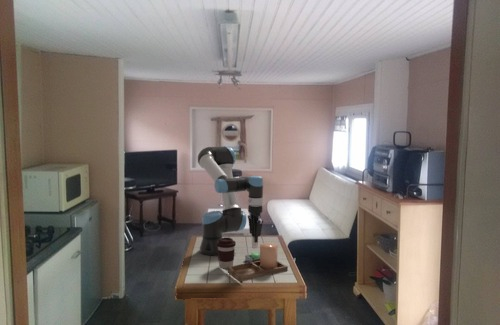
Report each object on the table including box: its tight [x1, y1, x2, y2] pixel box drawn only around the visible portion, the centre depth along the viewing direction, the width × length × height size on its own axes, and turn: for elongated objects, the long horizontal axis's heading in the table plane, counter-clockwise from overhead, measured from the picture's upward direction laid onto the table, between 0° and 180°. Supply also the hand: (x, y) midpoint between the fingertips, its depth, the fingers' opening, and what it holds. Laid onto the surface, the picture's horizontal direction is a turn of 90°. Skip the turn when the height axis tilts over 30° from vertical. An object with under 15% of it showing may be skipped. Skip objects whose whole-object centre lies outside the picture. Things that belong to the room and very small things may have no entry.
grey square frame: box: [244, 253, 260, 263], centre depth 208 cm, size 8×8×4 cm
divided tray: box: [227, 260, 289, 284], centre depth 195 cm, size 14×27×3 cm, turn 119°
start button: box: [250, 252, 260, 259], centre depth 208 cm, size 5×5×3 cm
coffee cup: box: [217, 237, 237, 270], centre depth 202 cm, size 10×10×15 cm
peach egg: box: [259, 242, 279, 270], centre depth 198 cm, size 9×9×12 cm
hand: (254, 247), depth 208 cm, fingers closed
